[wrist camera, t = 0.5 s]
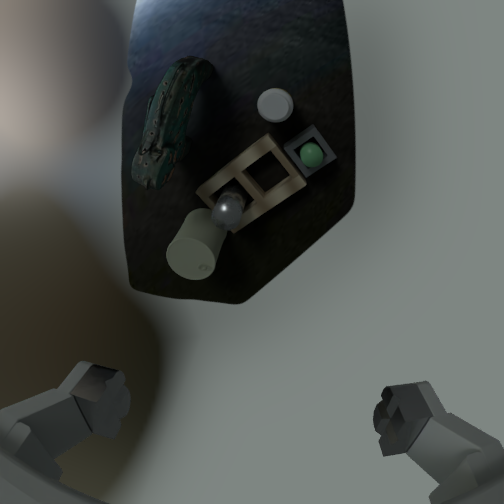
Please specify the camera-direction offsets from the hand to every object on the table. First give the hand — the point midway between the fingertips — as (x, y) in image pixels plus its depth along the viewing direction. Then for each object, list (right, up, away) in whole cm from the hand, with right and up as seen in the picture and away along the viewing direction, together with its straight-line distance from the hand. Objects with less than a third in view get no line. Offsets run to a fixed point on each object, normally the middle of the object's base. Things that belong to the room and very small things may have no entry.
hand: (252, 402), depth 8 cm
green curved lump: (-11, +30, +39) cm, 50 cm away
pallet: (0, +18, +46) cm, 49 cm away
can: (-10, +10, +53) cm, 54 cm away
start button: (+10, +21, +38) cm, 45 cm away
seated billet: (-3, +16, +47) cm, 50 cm away
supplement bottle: (+4, +30, +37) cm, 48 cm away
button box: (+10, +23, +41) cm, 48 cm away
